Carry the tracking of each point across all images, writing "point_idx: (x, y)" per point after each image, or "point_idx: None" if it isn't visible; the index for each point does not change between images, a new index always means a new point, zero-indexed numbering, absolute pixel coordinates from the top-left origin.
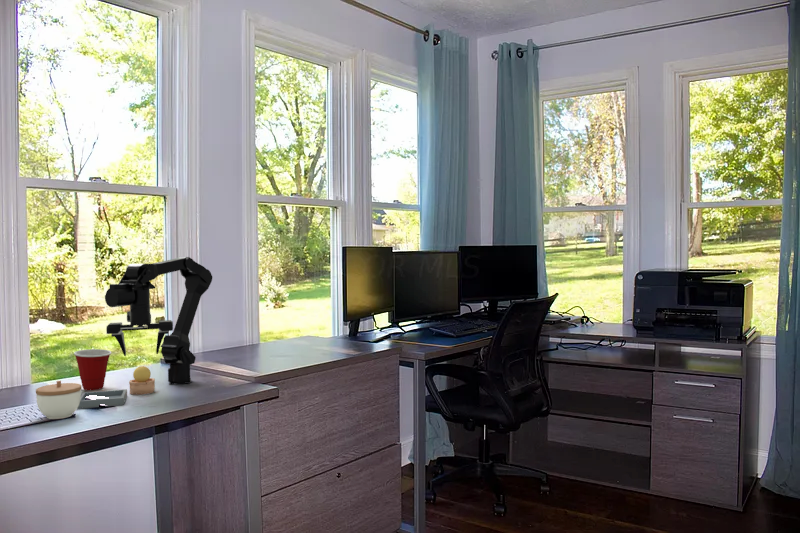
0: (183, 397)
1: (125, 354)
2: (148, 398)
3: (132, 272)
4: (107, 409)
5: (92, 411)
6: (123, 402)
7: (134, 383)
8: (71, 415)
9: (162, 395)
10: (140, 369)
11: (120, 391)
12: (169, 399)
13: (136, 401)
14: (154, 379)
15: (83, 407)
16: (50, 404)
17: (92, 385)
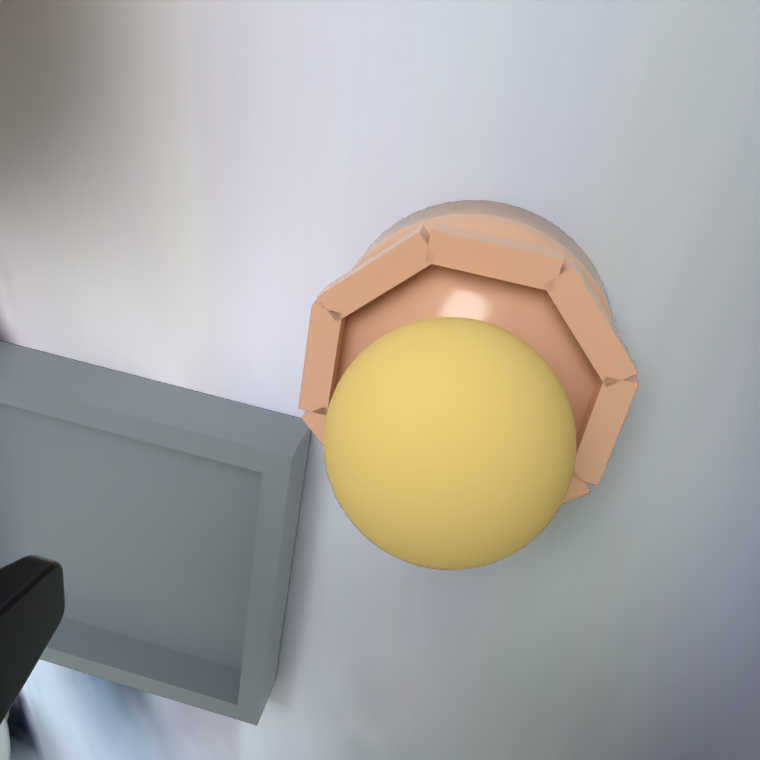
0: (738, 740)
1: (42, 650)
2: (471, 610)
3: None
4: (182, 712)
5: (102, 701)
6: (270, 690)
7: None
8: (7, 718)
9: (609, 583)
10: (403, 557)
11: (234, 459)
12: (612, 729)
13: (369, 641)
14: (617, 431)
15: None
16: None
17: None
